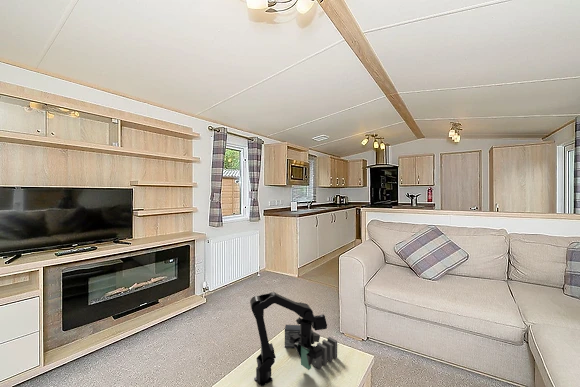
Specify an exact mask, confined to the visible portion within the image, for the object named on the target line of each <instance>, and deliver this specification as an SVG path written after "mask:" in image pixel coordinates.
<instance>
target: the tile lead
mask: <svg viewBox="0 0 580 387" xmlns="http://www.w3.org/2000/svg"><path fill="white" fill-rule="evenodd" d="M309 351H310V350H309V349H306V348H305V347H303V346H301V359H300V365H301V366H302V367H304V369H306V370H307V371H309V370H311V369H312V364H311V365H310V366H309V364H308V360H307V355H306V354H308V353H309Z"/></svg>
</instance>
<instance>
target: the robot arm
mask: <svg viewBox="0 0 580 387" xmlns="http://www.w3.org/2000/svg"><path fill="white" fill-rule="evenodd" d="M249 300H250V301H249V303H250V304H249V305H250V308H251V309H250V310H251V311H252V314H253V317H254V318H255V323H256V326H257V330H258V336H259V341H260V353H259V355H258V356H257V357H256V362H257V363H256V364H257V366H256V369H255V370H256V371H255V372H256V376H255V377H254V381H256V382H257V383H258V385H259V386H261V387H264V386H265V385H266V384H268V383H270V382H272V381H273V380H274V379H273V378H272V367H273V365H274V363H275V359H276V354H275V347H274V345H273V342H271V343H269V338H268V333H267V328H266V323H265V318H264V317H265V316H264V314H265V313H264V311H265V310H266V309H268V308H269V307H270V306H272V305H274V304H276V305H277V306H281V307H282V308H285V309H287V310H290V311H292V312H294V313H295V314H296V315H298V316H299V317H298V318H297V319H296V320H295V322H296V323H297V324H296V325H300V333H298V334H295V335H293V336H291V337H290V343H292V344H294V343H295V344H294V345H293V346H294V347H295V348H294V349H295V351H296V352H297V355H298V356H299V359H300V360H301V346H303V347H305V348H306V349H309V350H310V351H309V353H308V354H306V355H307V360H308V364H309V366H310V365H311V366H312V364H311V363H312V361H313V358H314V359H317V358H318V357H320V356H322V355H323V349H322V348H320V347H319V346H317V345H315V343H320V339H321V335H320V334H318V333H316V332H314V331H323V330H327V328H328V323H327V320H326V316H325V314H319V315H315V314H314V312H313V310H312V308H311V307H310V306H309V304H308V303H305V302H298V301H297V302H296V301H294V300H292V299H289V298H288V297H285V296H283V295H282V294H278V293H277V292H275V291H271V292H269V293H263V294H260V295H255V296H252V297H251V299H249ZM313 329H314V330H313ZM313 346H315V347H313Z"/></svg>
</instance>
